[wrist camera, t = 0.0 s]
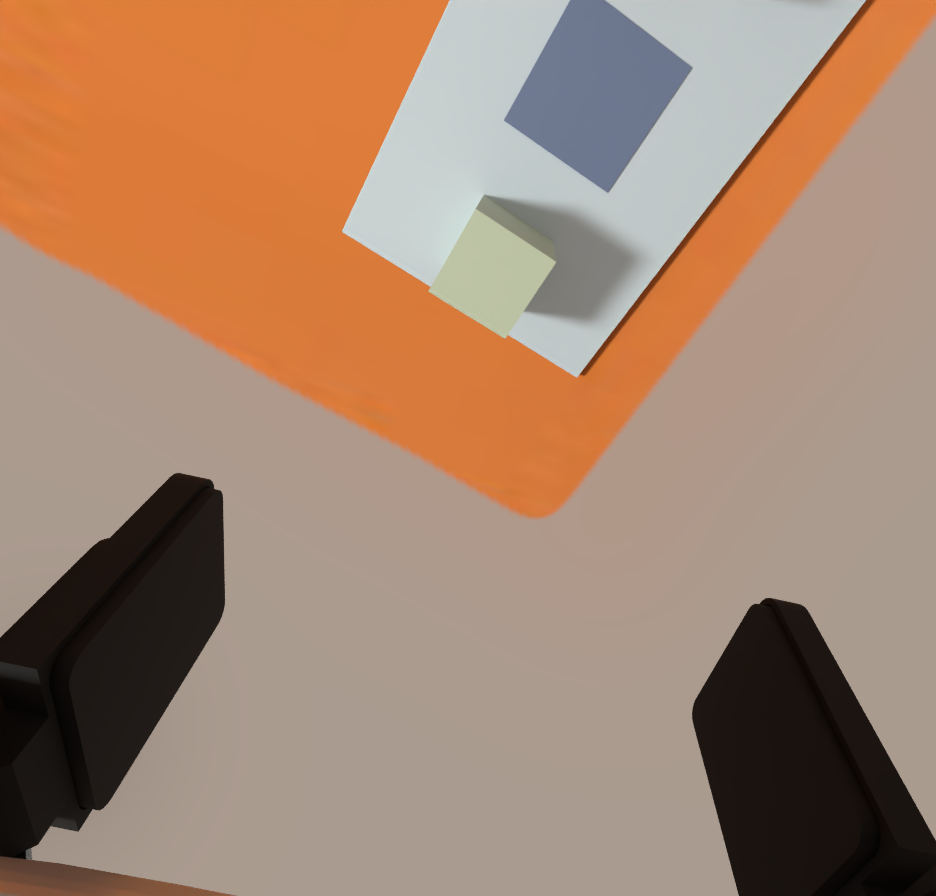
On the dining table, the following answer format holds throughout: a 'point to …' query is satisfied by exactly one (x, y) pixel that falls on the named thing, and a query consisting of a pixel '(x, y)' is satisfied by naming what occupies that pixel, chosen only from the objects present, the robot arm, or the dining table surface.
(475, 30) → the board
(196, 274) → the dining table surface
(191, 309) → the dining table surface
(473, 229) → the sage block
